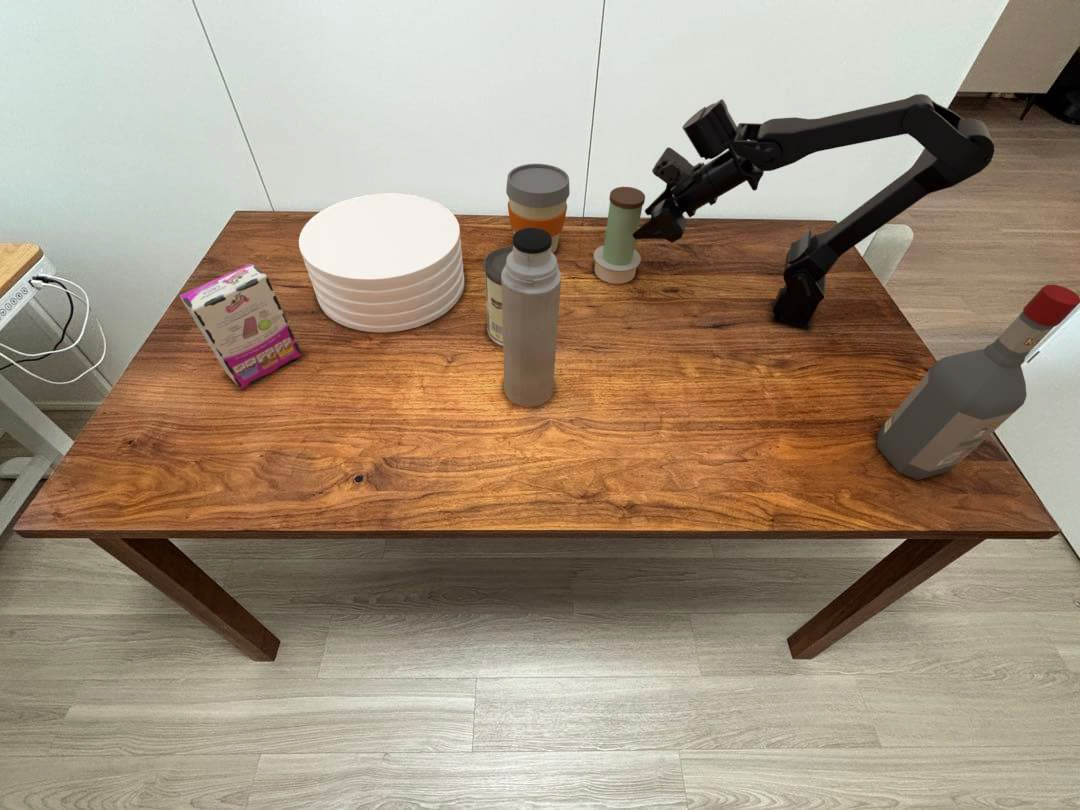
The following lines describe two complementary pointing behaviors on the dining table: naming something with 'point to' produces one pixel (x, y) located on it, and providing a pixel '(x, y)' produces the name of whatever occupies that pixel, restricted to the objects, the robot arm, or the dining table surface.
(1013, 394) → the liquor
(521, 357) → the thermos bottle
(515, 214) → the reusable coffee cup
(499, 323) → the coffee can
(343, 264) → the plate stack
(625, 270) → the coffee pod
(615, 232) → the cylinder
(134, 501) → the dining table surface
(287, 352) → the candy bar box
